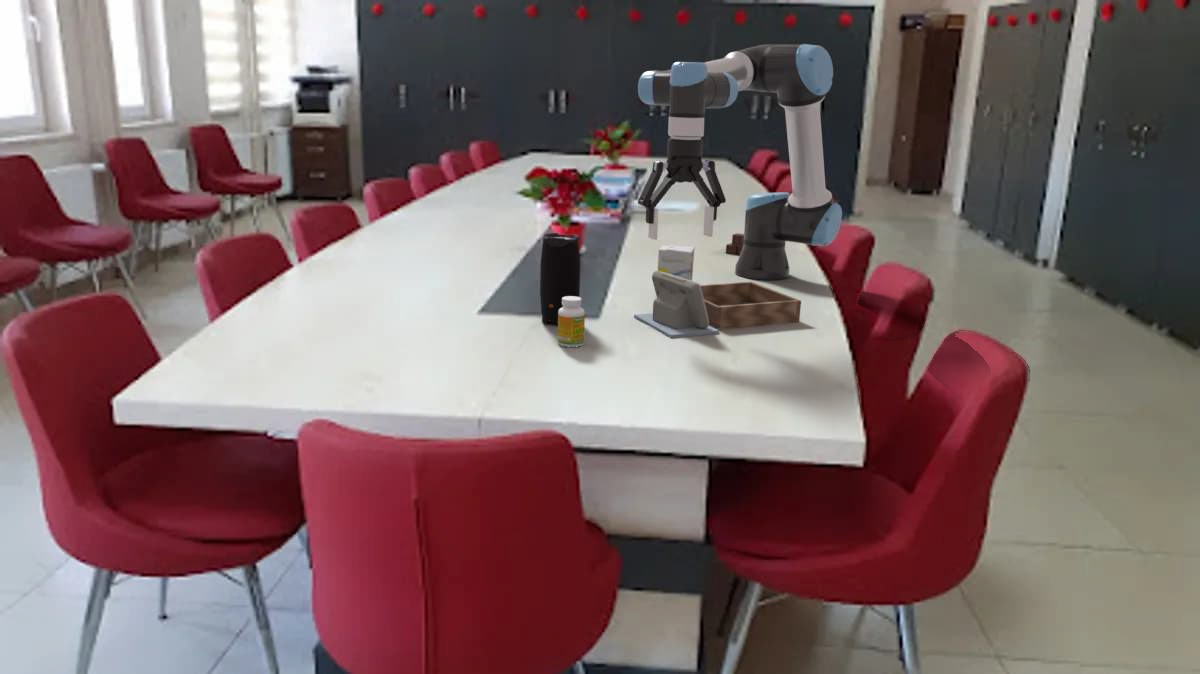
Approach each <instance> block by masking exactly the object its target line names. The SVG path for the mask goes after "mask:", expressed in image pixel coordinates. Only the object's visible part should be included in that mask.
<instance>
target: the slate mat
mask: <svg viewBox="0 0 1200 674" xmlns="http://www.w3.org/2000/svg"><path fill="white" fill-rule="evenodd" d="M633 318H635V319H636V320H638V321H640V322H641V323H642V324H645V325H647V326H649V327H650V328H652V329H654V330H655V331H657V332H659V333H661V334H662V335H665V336H666V337H668V338H670V339H672V338H671V337H674V338H682V337H681V336H685V337H692V336H693V337H694V336H704V335H717V334H720V329H715V328H713V327H711V326H709V325H708V327H707V328H699V327H696V326H695V327H688V328H681V329H676V328H673V327H670V326H668V325H665V324H663V323H660V322H657V321H655V320H653V312H651V313H642V314H641V313H640V314H633Z"/></svg>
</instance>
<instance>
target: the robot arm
mask: <svg viewBox="0 0 1200 674" xmlns="http://www.w3.org/2000/svg"><path fill="white" fill-rule="evenodd" d="M833 66H834V65H833V62H832V58H831V55H830V54H829V52H828V51H827V50H826V49H825V48H824V47H823V46H821V45H815V44H810V43H809V44H808V43H803V44H802V43H800V44H799V43H797V44H772V43H771V44H769V43H768V44H760V45H757V46H756V45H755V46H752V47H747V48H744V49H741V50H736V51H732V52H729V53H727V55H725V56H724V57H723V58H719V59H713V60H709V61H705V62H700V61H699V62H697V61H696V62H695V61H691V62H690V61H676V62H674V63H672V65H671V69H667V70H657V69H655V70H647V71H645V72H643V73H642V74H641V75H640V77H639V78H638V79H639V80H638V84H637V90H638V91H637V92H638V97H639V100H640V101H641V102H642V103H644V104H645V105H649V106H650V105H652V106H655V107H657V106H666V107H667V106H669V109H668V111H669V113H668V127H667V128H668V129H667V134H668V136H669V138H668V139H667V149H666V150H667V151H666V156H667V160H666V162H663V161H658V160H654V161H653V163H652V170H651V172H650V175H649V176H648V178H647V179H648V180H647V181H646V183H645V185H644V188H643V189H642V191H641V194H640V195H639V197H638V200H637V204H638V205H640V206H642V207H645V222H646V224H648V234H647V235H648V238H649V239H651V240H654V241H655V240H658V227H659V225H658V224H659V208H656V207H657V206H658V204H659V203H660V201H662V199H663V198H664V196H665V195H666V194H667V193H668V191H669V190H670V189H671V188H672V187H673V186H674V185H675V184H676V183H680V184H681V183H684V182H685V183H693V184H694V186H695V187H696V188H697V189H698V191H699V192H700V194H701V196H702V197H703V198H704V199H705V201H706V203H707V204H708V205H707V204H706V205H704V216H703V217H704V219H703V234H702V235H703V236H705V237H706V236H707V237H709V238H710V237H711V238H712V237H713V234H714V233H713V231H714V222H715V221H717V216H718V215H717V214H718V208H719V207H720V206H721V204H725V203H726V201H727V200H726V196H725V194H724V192H723V191H724V190H723V189H722V186H721V183H720V180H719V177H718V175H717V173H716V162H715V161H714V160H709V159H705V160H703V161H702V157H703V152H704V151H703V149H704V140H703V139H702V137H704V135H705V111H706V109H718V110H721V109H723V108H727V107H730V106H731V105H732V104H734V102H735V101H736V100H737V97H738V94H739V92H742V91H752V92H753V91H754V92H762V93H773V94H777V103H778V105H779V106H780V107H782V108H783V109H784V113H785V124H786V125H785V126H786V134H787V135H786V137H787V145H788V146H787V147H788V157H789V167H790V176H791V177H790V178H791V188H792V190H791V191H792V192H791V194H790V193H789V192H785V191H784V192H782V191H781V192H780V191H779V192H764V193H755V194H750V196H749V195H748V198H747V200H746V204H745V205H746V206H745V211H744V213H745V214H744V215H745V217H744V228H743V230H744V232H743V234H744V244H743V249H742V251H741V254H740V255H738V259H737V261H736V264H735V269H734V270H735V272H734V273H735V275H736V276H739V277H743V278H746V279H753V280H763V281H764V280H768V281H769V280H771V281H773V280H774V281H775V280H785V279H787V278H789V276H790V264H789V262H788V261H789V260H788V256H787V251H786V242H789V243H797V244H804V245H809V246H810V245H811V246H812V247H814V246H815V247H816V246H819V247H821V246H822V247H827V246H829V245H830V244H831V243H832V242H833V241H834V240H835V239H836V237H837V235H838V233H839V231H840V227H841V225H842V219H843V209H842V206H841V205H840V204H838V203H837V202H833V194H832V192H831V191H830V190H828V189H827V187H826V176H825V163H824V162H825V161H824V148H823V147H824V146H823V134H822V121H821V119H822V118H821V108H820V105H821V103H822V102H823V101H824V99H825V98H826V94H827V93H828V92H829V91H830V90H831V87H832V85H833V77H834V67H833ZM702 170H703V171H704V174H705V176H706V178H707V181H708V183H709V185H710V186H708V185H707V184H706V182H705V180H704V178H703V176H702V175H701V173H700V172H701V171H702ZM665 171H667V173H666V174H665V176H664V177H663V180H662V182H660V184H659V181H660V179H661V178H662V177H661V176H662V174H663V173H664V172H665ZM658 184H659V185H658ZM656 187H657V188H656ZM709 187H710V188H709Z"/></svg>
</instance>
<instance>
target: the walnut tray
mask: <svg viewBox="0 0 1200 674" xmlns="http://www.w3.org/2000/svg"><path fill="white" fill-rule="evenodd" d="M700 286H701V289H702V293H703V297H704V301H705V306H706V310H707V314H708V318H709V326H711V327H713V328H715V329H717V330H724V329H727V330H728V329H736V328H746V327H755V326H756V327H757V326H768V325H770V326H771V325H778V324H779V325H780V324H790V323H791V324H792V323H799V322H800V319H801V318H800V317H801V316H800V315H801V306H802V300H800V299H798V298H795V297H793V296H790V295H787V294H786V293H782V292H779V291H777V290H774V289H772V288H770V287H767V286H765V285H761V284H759V283H756V282H755V281H754V282H753V281H742V282H741V281H740V282H730V283H729V282H728V283H727V282H725V283H714V284H713V283H712V284H710V283H709V284H700Z"/></svg>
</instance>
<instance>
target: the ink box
mask: <svg viewBox="0 0 1200 674" xmlns="http://www.w3.org/2000/svg"><path fill="white" fill-rule="evenodd" d="M694 259H695V247H694V246H682V245H674V244H669V245H668V244H662V246H660V248H659V249H658V258H657V271H661V272H665V273H668V274H671V275H675V276H678V277H681V278H684V279H687V280H691V281H693V273H694Z"/></svg>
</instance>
